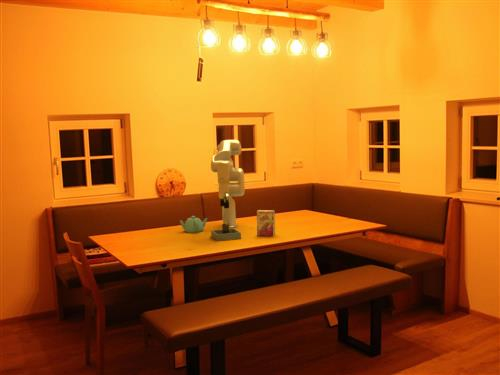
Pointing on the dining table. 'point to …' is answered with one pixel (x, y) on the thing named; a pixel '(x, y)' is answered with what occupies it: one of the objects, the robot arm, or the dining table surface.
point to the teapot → (193, 225)
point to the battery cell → (225, 228)
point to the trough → (225, 235)
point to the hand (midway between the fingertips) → (224, 207)
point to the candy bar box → (265, 223)
